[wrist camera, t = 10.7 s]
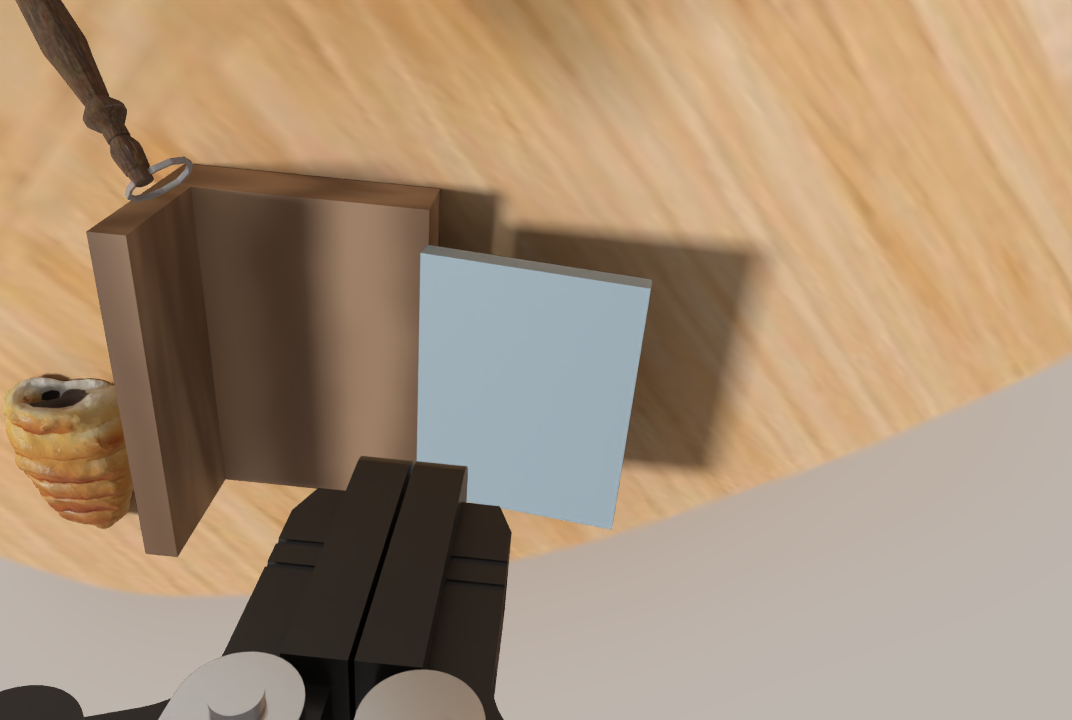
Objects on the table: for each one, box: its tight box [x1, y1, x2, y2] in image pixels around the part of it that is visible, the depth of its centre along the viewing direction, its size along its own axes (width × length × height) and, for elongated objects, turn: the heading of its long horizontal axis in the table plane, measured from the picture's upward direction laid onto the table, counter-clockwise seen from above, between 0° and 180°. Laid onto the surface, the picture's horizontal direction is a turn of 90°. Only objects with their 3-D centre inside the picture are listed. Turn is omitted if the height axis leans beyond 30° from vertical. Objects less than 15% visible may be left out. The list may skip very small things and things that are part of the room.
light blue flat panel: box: [417, 245, 653, 530], centre depth 40 cm, size 2×13×10 cm
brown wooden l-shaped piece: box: [86, 163, 440, 557], centre depth 40 cm, size 12×16×9 cm
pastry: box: [2, 377, 134, 529], centre depth 47 cm, size 9×7×4 cm
